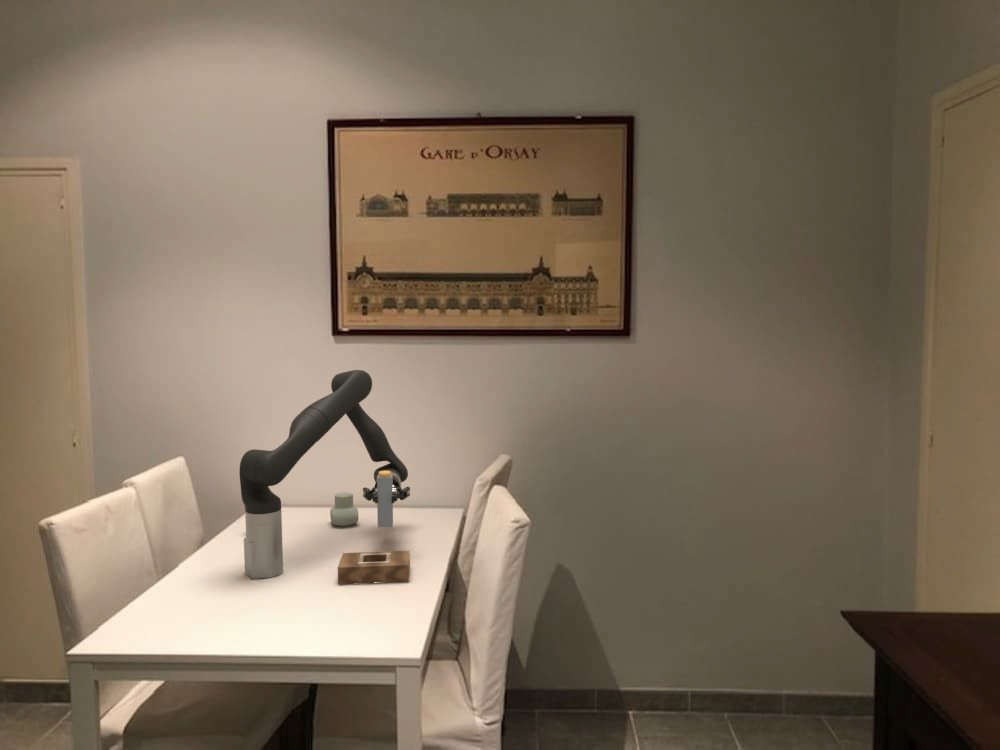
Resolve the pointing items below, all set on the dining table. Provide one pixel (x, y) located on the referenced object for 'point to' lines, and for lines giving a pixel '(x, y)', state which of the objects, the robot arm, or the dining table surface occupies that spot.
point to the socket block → (374, 567)
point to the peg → (385, 499)
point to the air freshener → (344, 510)
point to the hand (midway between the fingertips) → (384, 499)
